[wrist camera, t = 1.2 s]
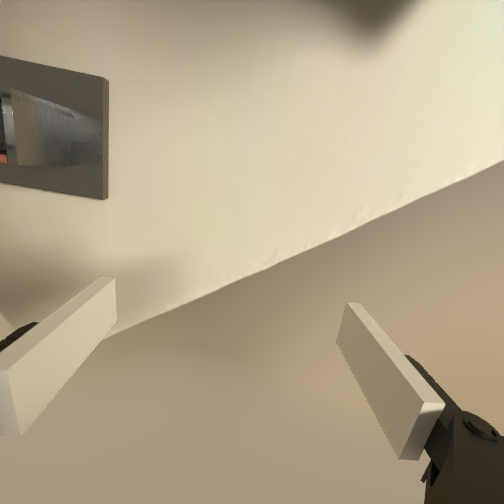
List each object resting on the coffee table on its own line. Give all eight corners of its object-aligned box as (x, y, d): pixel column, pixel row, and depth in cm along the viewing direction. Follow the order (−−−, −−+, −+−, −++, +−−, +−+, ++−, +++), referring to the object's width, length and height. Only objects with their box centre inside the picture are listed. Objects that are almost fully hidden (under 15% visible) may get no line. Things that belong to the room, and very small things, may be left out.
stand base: (-18, 54, 33) (-129, 5, 23) (108, 81, 35) (54, 45, 25) (-2, 179, 38) (-89, 183, 28) (108, 198, 39) (62, 207, 29)
